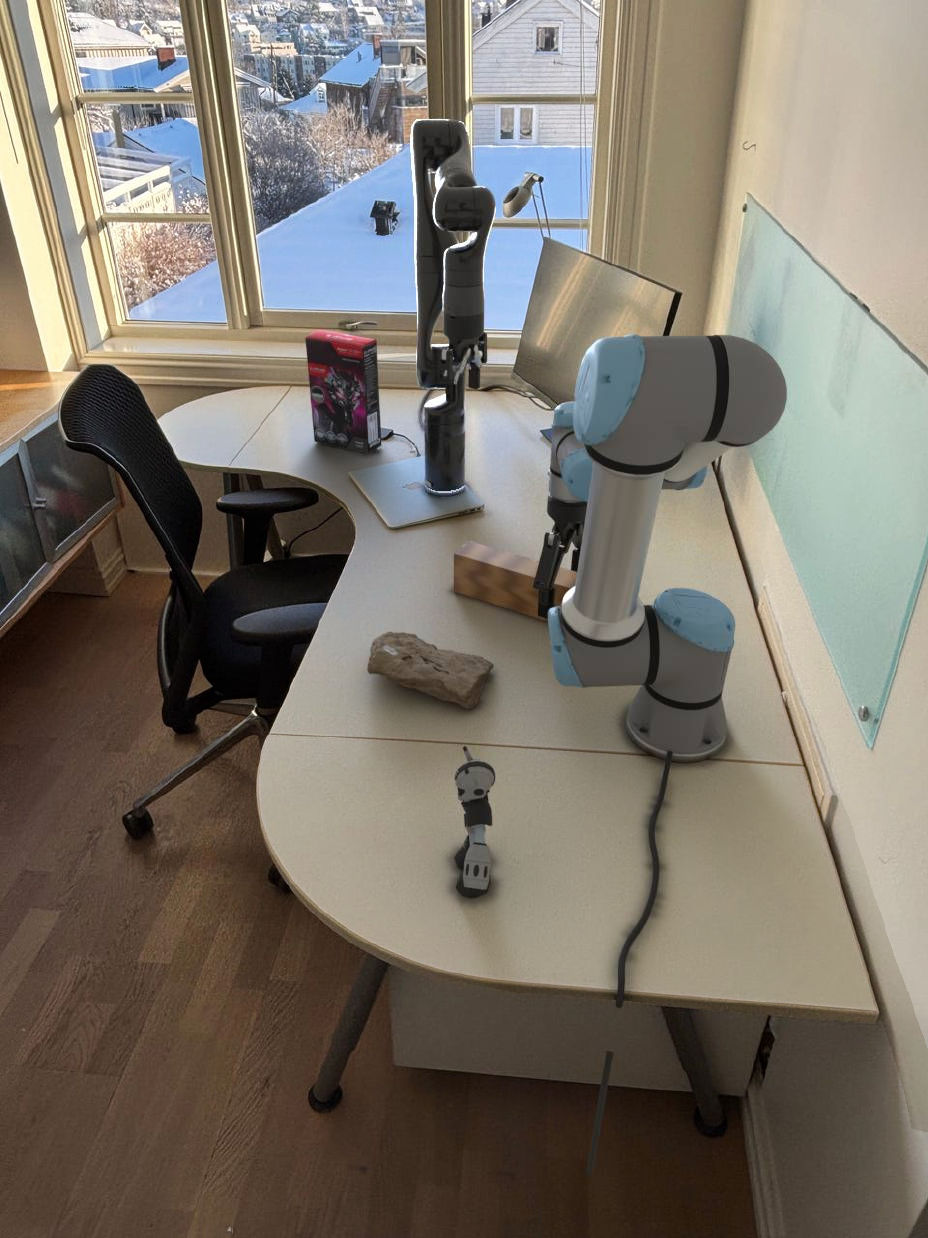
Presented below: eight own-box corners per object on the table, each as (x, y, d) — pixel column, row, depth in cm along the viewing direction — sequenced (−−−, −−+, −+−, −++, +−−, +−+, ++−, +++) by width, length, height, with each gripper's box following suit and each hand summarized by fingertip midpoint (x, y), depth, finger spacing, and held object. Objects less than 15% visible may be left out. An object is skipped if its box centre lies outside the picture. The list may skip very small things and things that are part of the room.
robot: (497, 935, 111) (502, 818, 100) (457, 937, 111) (458, 819, 100) (486, 816, 127) (489, 703, 116) (451, 817, 127) (451, 704, 116)
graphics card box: (312, 442, 234) (302, 335, 219) (327, 433, 240) (319, 327, 224) (368, 456, 228) (362, 346, 213) (383, 446, 233) (379, 338, 218)
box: (584, 614, 170) (587, 574, 166) (570, 629, 166) (574, 589, 161) (468, 578, 180) (469, 540, 176) (453, 591, 176) (453, 553, 172)
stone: (342, 681, 147) (349, 648, 145) (376, 648, 161) (382, 617, 158) (465, 726, 144) (475, 692, 141) (489, 688, 157) (498, 657, 155)
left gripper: (465, 296, 172) (464, 380, 181) (424, 314, 162) (426, 402, 171) (500, 301, 169) (498, 387, 178) (461, 320, 159) (460, 410, 168)
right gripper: (580, 462, 166) (571, 563, 178) (516, 518, 148) (511, 626, 160) (619, 471, 163) (607, 573, 175) (558, 529, 145) (550, 639, 157)
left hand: (462, 395), depth 175 cm, fingers open, 8 cm apart
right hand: (561, 599), depth 168 cm, fingers open, 13 cm apart
